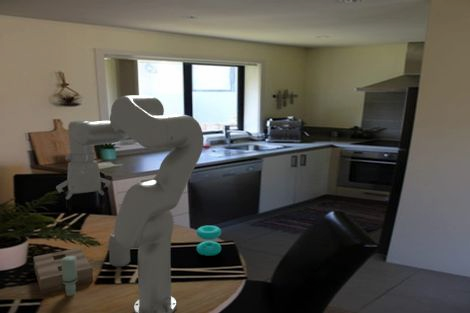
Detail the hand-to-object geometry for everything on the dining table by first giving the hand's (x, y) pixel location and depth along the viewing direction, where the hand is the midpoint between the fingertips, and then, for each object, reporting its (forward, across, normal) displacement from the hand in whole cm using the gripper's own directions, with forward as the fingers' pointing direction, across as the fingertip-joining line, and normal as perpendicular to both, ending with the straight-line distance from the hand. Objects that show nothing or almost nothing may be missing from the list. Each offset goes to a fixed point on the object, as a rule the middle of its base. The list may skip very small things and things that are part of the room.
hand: (85, 207), depth 132 cm
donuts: (+26, +46, -1) cm, 53 cm away
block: (+25, -8, +6) cm, 27 cm away
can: (+26, +12, +6) cm, 29 cm away
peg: (+25, -7, -9) cm, 28 cm away
